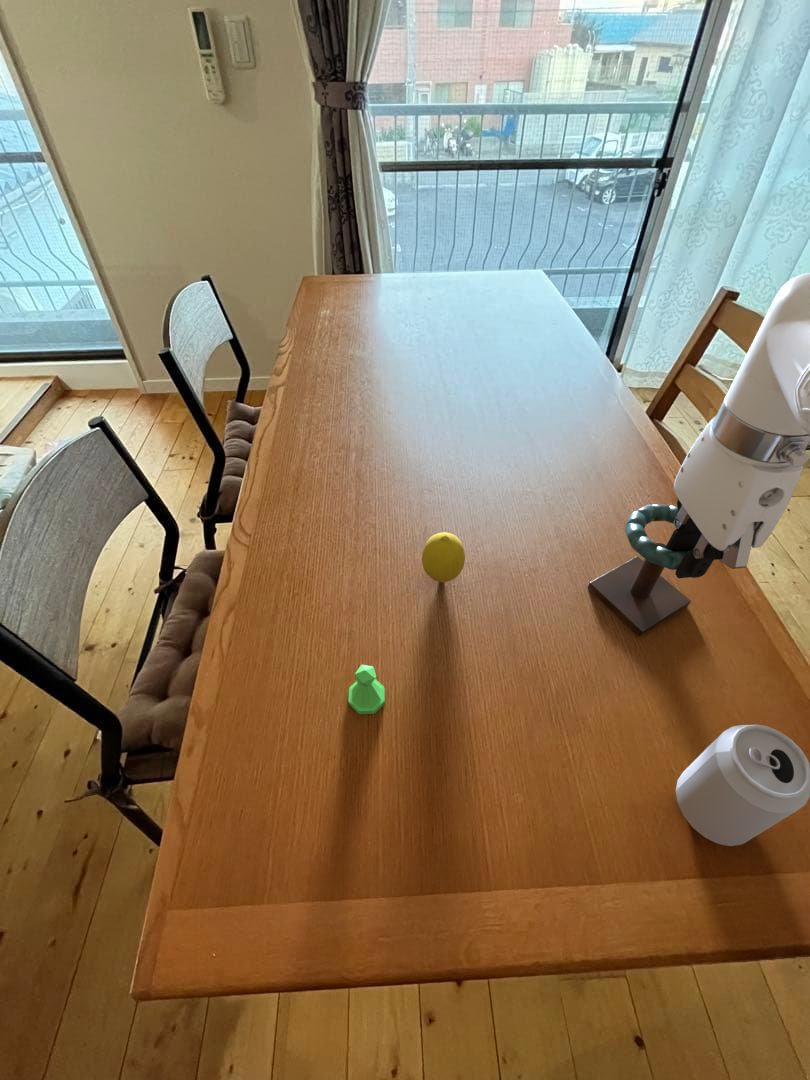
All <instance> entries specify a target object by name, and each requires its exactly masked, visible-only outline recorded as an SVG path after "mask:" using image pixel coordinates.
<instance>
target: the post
mask: <svg viewBox="0 0 810 1080" xmlns="http://www.w3.org/2000/svg"><path fill="white" fill-rule="evenodd" d="M655 543H656V544H657V545H658V546H660V547H663V548H665V547H666V545H667V544H665V543H662V542H655ZM664 569H665V567H662V566H659V565H656V564H654V563H651V562H649V561H647V560H646V559H645V558H644V559H642V558H640V557H639V556H638V555H637V556H634V557H633V558H631V559H629V560H627V561H625V562H624V563H622V564H620V565H618V566H617V567H615V568H613V569H610V571H607V572H606V573H603V574H602V575H601V576H599V577H596V578H595V579H593V580H591V581H590V582H589V583H588V584H587V589H588V590H589V591H590V592H591V593H592V594H593V595H594V596H595V597H596V598H597V599H598V600H600V601H601V602H602V604H603V605H605V606H606V607H607V608H608V609H609V610H610V611H611V612H612V613H613V614H614V615H615V616H617V618H619V620H621V621H622V622H623V623H624V624H625V625H626V626H627V627H628V628H629V629H630V630H631V631H632V632H634V633H635V634H636V635H637V636H638V637H639V638H641V637H642V636H644V635H645V634H647V633H649V632H650V631H651V630H653V629H655V628H656V627H658V626H659V625H661V624H663V623H664V622H665V621H668V620H669V619H671V618H672V617H673V616H675V615H677V614H678V613H680V612H682V611H683V610H685V609H686V608H688V607H689V606H690V604H691V602H692V601H691V599H689V598H688V597H687V596H686V595H685V594H684V593H682V592H681V591H680V590H679V589H678V588H677V587H675V586H674V585H673V584H671V582H669V581H668V580H667V579H665V578H664V577H663V576H662V574H663V571H664Z"/></svg>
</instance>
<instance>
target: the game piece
mask: <svg viewBox="0 0 810 1080" xmlns="http://www.w3.org/2000/svg"><path fill="white" fill-rule="evenodd" d="M354 677H355V680H356V681H355V682H354V683H352V684H351V685H350V686H349V687H348V705H349V706H350V707H351V708H352V709H353V710H354V711H355V712H356V713H357V714H358V715H374V714H376V713H377V712H378V711H379V710H380V709H381V708H382V707H383V706H384V705H385V702H386V699H385V698H386V696H385V694H386V692H385V691H386V688H385V686H384V685H383V684H382V683H380V681H379V680H378V679H376V678H377V674H376V670H375V666H372V665H366V664H361V665H360V666H359V668H358V669H357V670H356V672H355V673H354Z"/></svg>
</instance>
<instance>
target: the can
mask: <svg viewBox="0 0 810 1080" xmlns="http://www.w3.org/2000/svg"><path fill="white" fill-rule="evenodd" d="M809 761H810V760H809V759H808V758H807V756H806V754H805V753H804V751H803V750H802V749H801V748H800V746H798V745H797V744H796V743H795V742H794V741H793V739H791V738H790V737H789V736H787V735H786V734H784V733H783V732H781V731H780V730H777V729H775V728H773V727H770V726H768V725H763V724H762V725H761V724H756V723H754V724H740V725H739V724H738V725H732V726H731V727H729V728H727V729H726V730H724V731H722V732H721V733H720V735H719V736H717V738H716V739H715V740H713V741H712V742H711V743H710V744H709V745H708V746H707V747H706V748H705V749H704V750H703V751H702V752H701V753H700V754H699V756H698V757H696V758H695V759H694V760H693V761H692V762H691V763H690V765H688V766H687V767H686V768H685V769H684V770H683V771H682V773H681V774H680V776H679V778H678V779H677V780H676V781H677V782H676V787H675V794H676V795H675V796H676V801H677V804H678V807H679V810H680V812H681V813H682V816H683V817H684V819H685V821H687V822H688V824H689V825H690V826H691V827H692V829H694V830H695V831H696V832H697V833H699V834H700V835H701V836H702V837H704V838H705V839H706V840H708V841H711V842H713V843H715V844H717V845H722V846H728V847H734V846H741V845H744V844H745V843H747V842H749V841H750V840H753V838H756V837H757V836H759V835H760V834H762V833H763V832H765V831H767V830H768V829H771V828H772V827H774V826H775V825H776V824H778V823H780V822H781V821H783V820H784V819H786V818H788V817H789V816H791V815H793V814H795V813H796V812H798V811H799V810H800V809H802V808H803V807H805V806H806V805H807V803H808V801H809V799H810V762H809Z"/></svg>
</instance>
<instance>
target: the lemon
mask: <svg viewBox="0 0 810 1080" xmlns="http://www.w3.org/2000/svg"><path fill="white" fill-rule="evenodd" d="M465 561H466V552H465V548H464V544H463V543H462V541H461V540H460V539H459V538H458V536H457V535H455V534H453V533H452V532H451V533H450V532H446V531H445V532H443V531H441V532H438V533H434V534H433V535H432V536H430V537H429V538H428V540H427V541H426V542H425V544H424V547H423V549H422V554H421V563H422V568H423V570H424V572H425V574H426V575H427V576H428V577H429V578H430V579H432V580H433V581H435V582H439V583H446V582H450V581H453V580H455V579H456V578H457V577H458V576H460V574H461V572H462V571H463V569H464V566H465Z"/></svg>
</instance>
